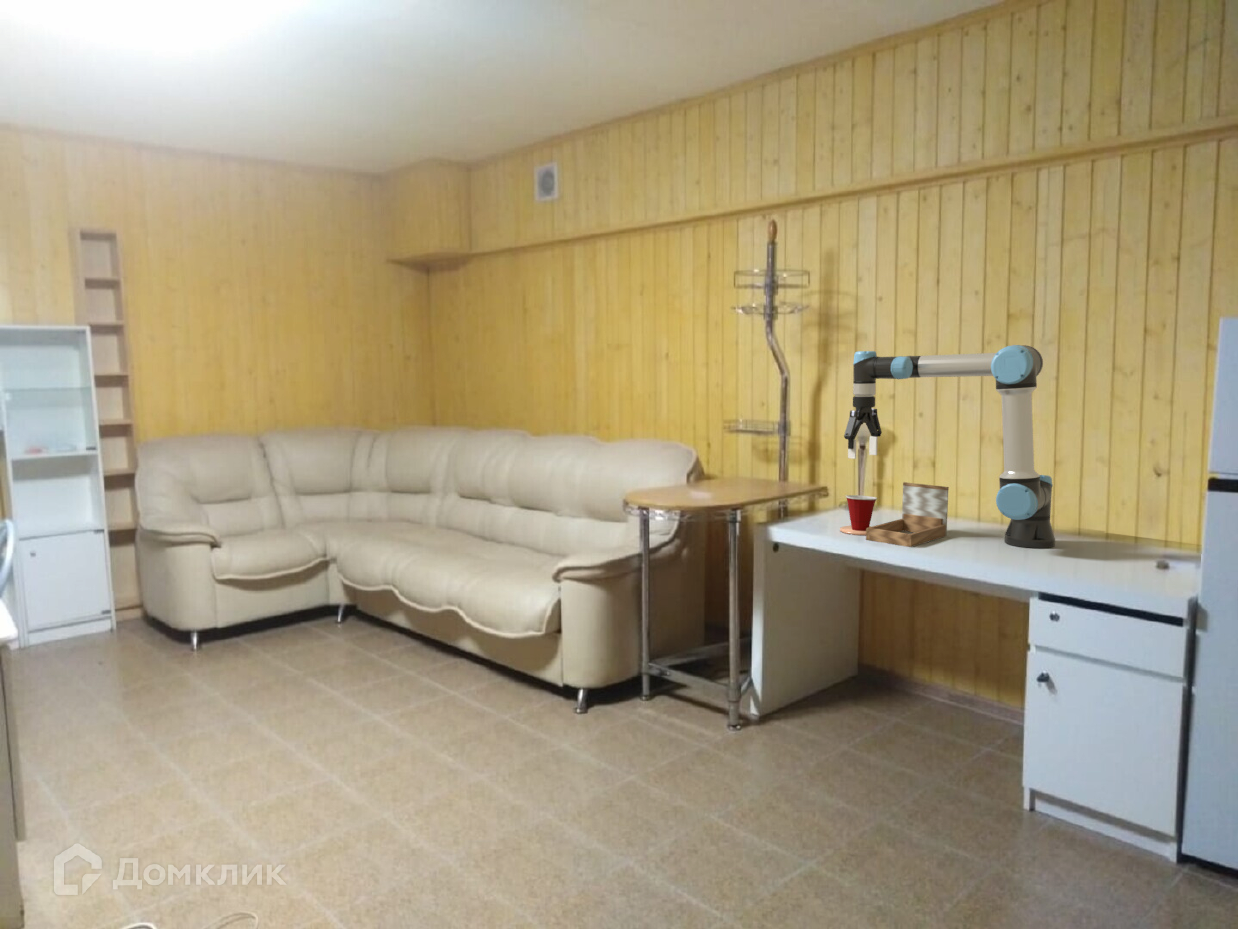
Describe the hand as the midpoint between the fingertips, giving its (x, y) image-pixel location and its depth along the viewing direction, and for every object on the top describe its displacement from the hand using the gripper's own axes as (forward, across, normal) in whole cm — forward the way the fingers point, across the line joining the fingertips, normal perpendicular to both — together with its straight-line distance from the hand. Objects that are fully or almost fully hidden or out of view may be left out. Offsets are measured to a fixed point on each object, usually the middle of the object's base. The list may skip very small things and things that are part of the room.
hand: (862, 456), depth 309 cm
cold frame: (+27, -1, +17) cm, 32 cm away
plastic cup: (+26, 0, 0) cm, 26 cm away
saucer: (+27, 0, 0) cm, 27 cm away
